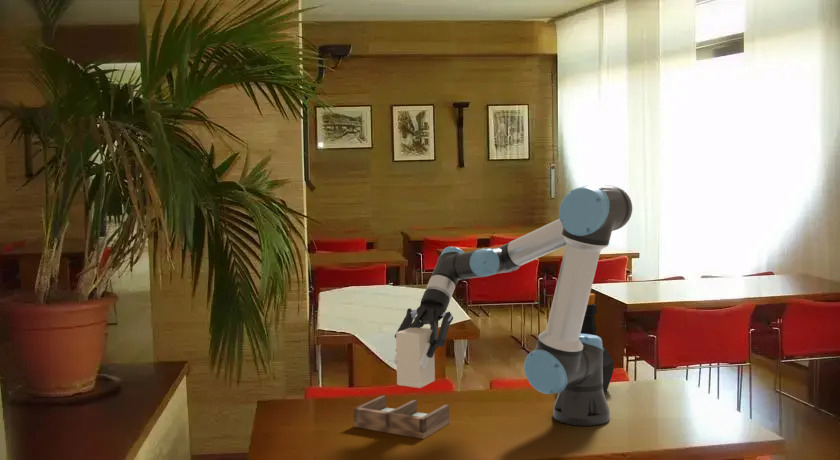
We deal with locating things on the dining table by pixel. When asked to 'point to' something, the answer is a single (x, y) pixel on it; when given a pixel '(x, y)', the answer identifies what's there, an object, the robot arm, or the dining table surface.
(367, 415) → the rack
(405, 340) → the white block
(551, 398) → the dining table surface
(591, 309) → the bottle
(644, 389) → the dining table surface
